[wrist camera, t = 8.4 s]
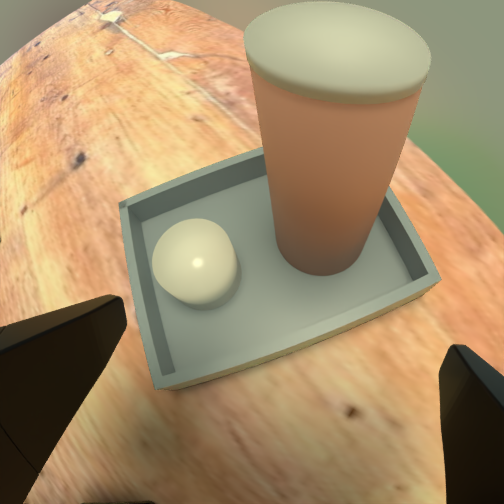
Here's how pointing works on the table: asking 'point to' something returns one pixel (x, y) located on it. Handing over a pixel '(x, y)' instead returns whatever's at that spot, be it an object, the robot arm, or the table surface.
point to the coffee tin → (331, 121)
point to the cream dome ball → (197, 264)
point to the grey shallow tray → (258, 277)
